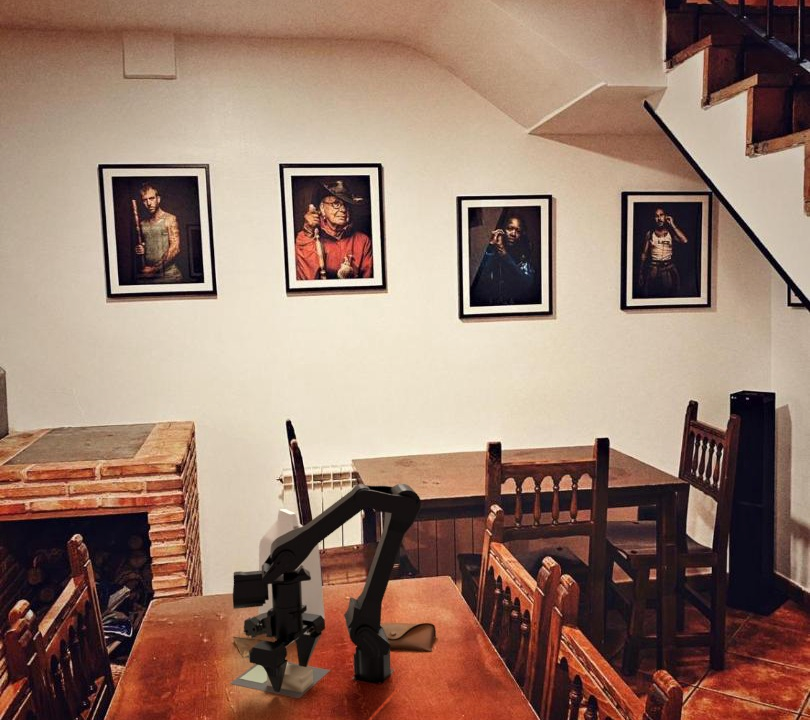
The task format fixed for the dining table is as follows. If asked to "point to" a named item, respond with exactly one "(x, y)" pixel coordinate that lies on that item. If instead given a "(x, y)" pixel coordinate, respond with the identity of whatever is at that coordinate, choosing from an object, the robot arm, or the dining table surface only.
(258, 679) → the mat
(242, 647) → the shard
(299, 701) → the dining table surface
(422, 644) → the sunglasses case
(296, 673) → the birch block
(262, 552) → the milk
